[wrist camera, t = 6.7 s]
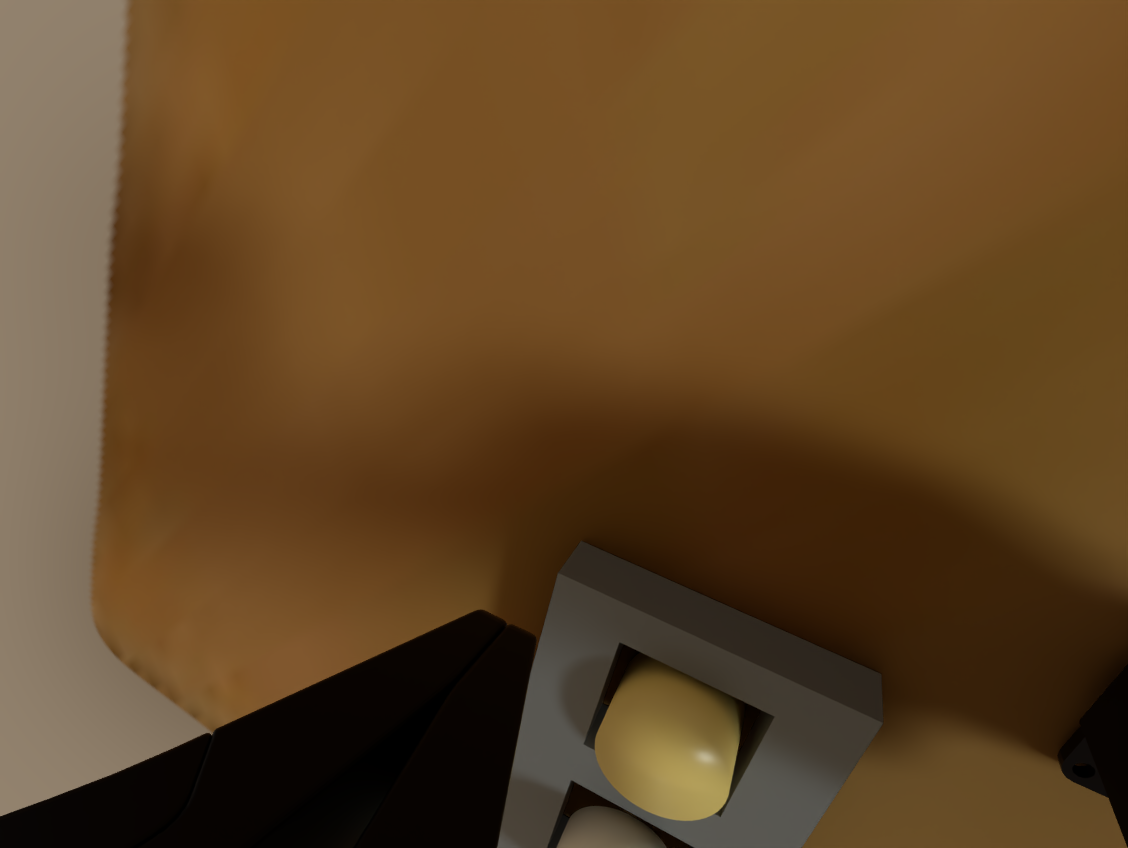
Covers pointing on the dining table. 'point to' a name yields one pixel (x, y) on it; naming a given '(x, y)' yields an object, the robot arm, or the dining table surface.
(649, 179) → the dining table surface
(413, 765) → the robot arm
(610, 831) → the cream button
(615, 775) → the mustard button
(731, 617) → the button panel
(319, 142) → the dining table surface
